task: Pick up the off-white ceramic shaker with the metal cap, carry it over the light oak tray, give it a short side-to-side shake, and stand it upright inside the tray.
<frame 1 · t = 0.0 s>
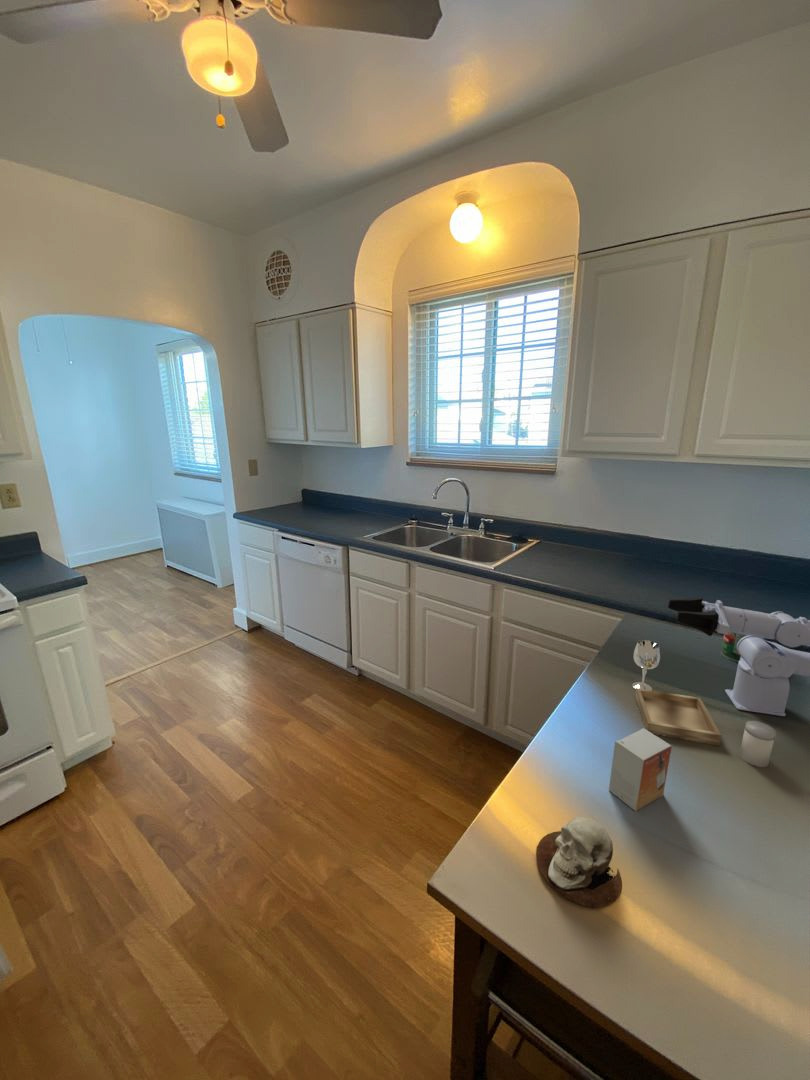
hand: (673, 609, 106), 22 cm above the counter, tool horizontal, fingers open, 7 cm apart
canned tomato: (737, 656, 127), on the counter
shaker: (753, 758, 88), on the counter
tray: (673, 719, 100), on the counter
wineglass: (642, 688, 112), on the counter
skull: (577, 869, 67), on the counter
small box: (635, 793, 80), on the counter
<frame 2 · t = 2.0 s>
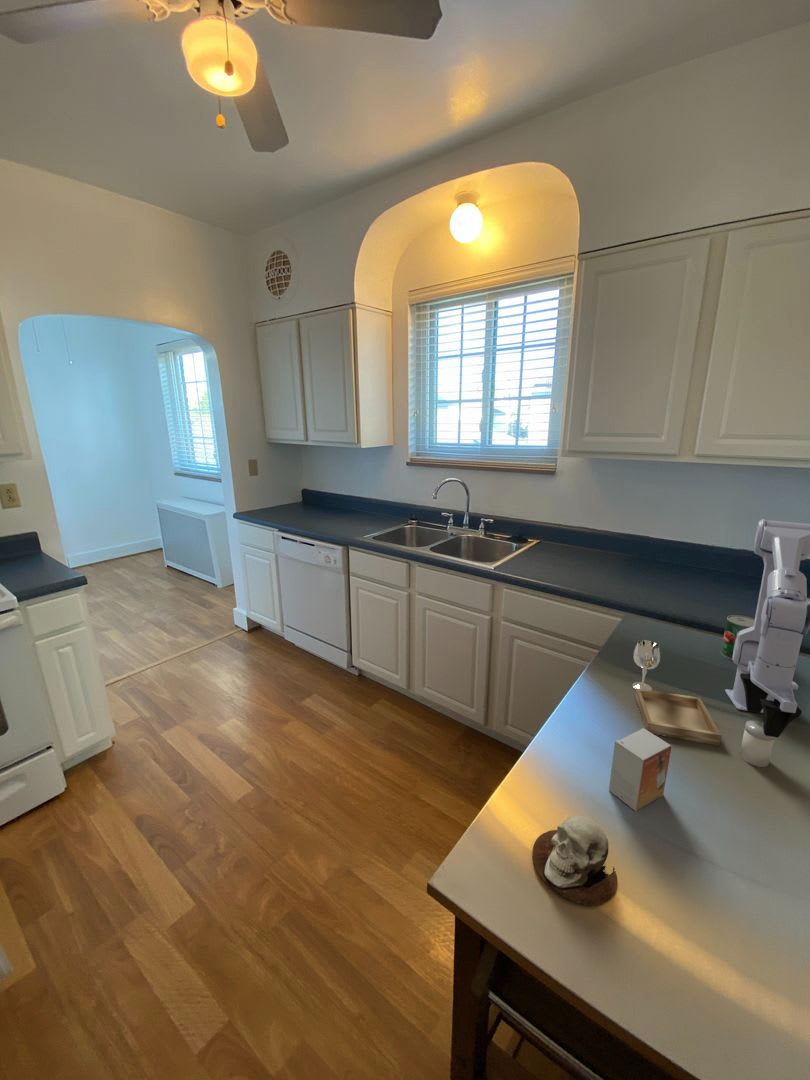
hand: (761, 722, 86), 8 cm above the counter, tool pointing down, fingers open, 7 cm apart
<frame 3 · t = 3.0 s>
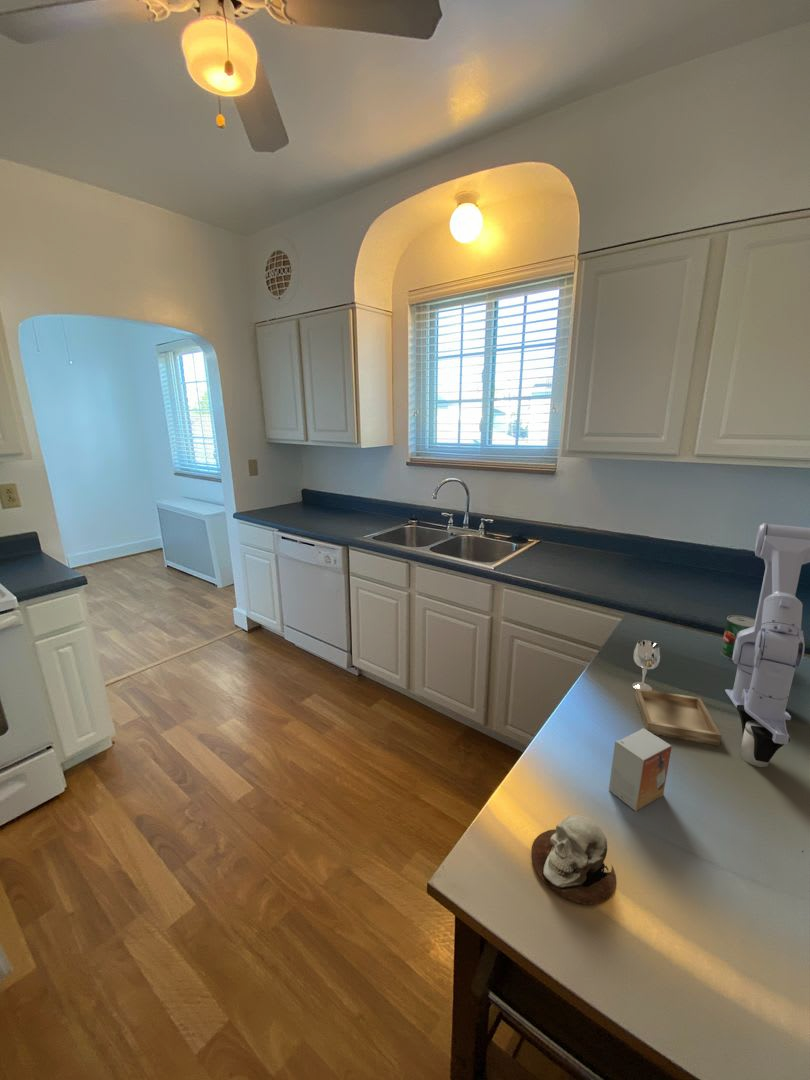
hand: (755, 751, 88), 2 cm above the counter, tool pointing down, fingers closed on shaker, 5 cm apart
shaker: (753, 758, 88), on the counter, touching gripper
everything else where it was.
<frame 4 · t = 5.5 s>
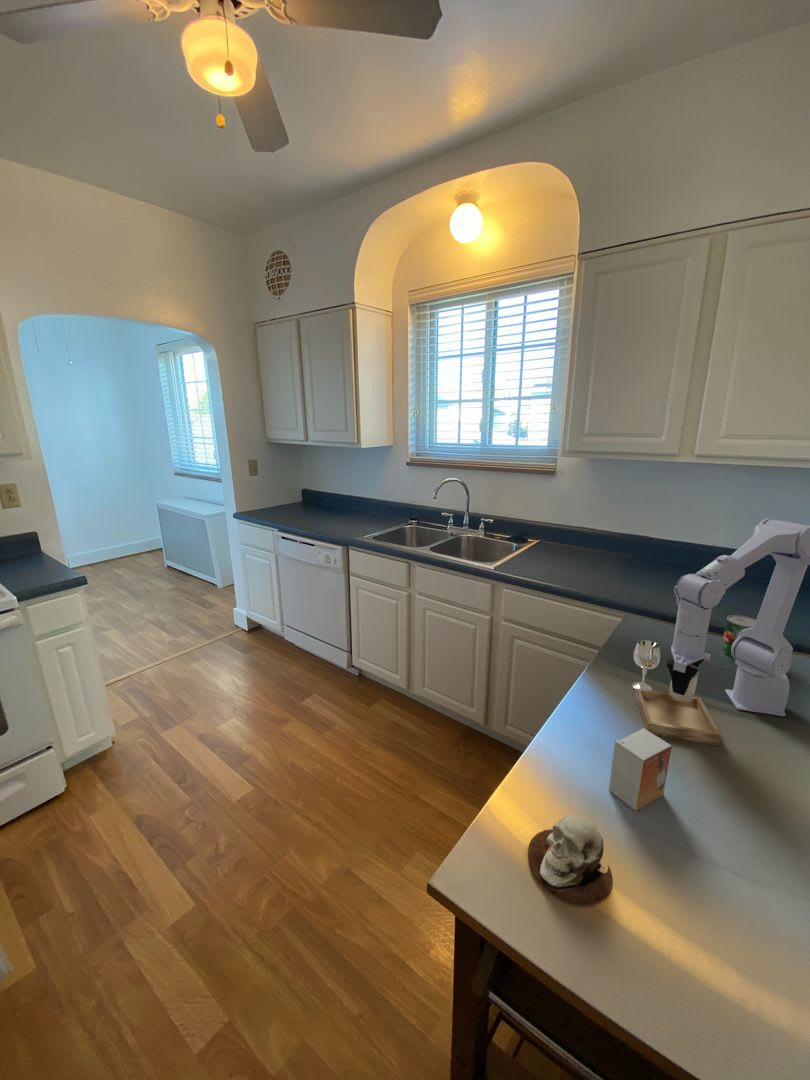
hand: (681, 687, 97), 9 cm above the counter, tool pointing down, fingers closed on shaker, 5 cm apart
shaker: (680, 695, 97), point 7 cm above the counter, touching gripper
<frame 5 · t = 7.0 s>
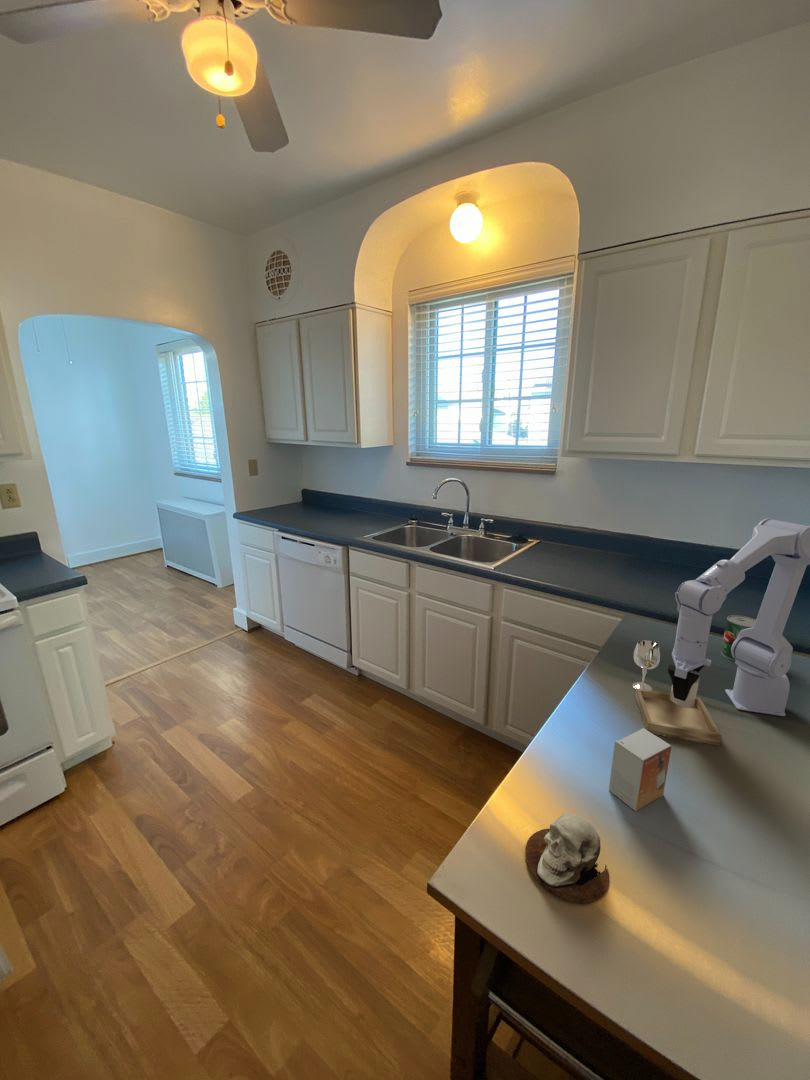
hand: (682, 693, 97), 7 cm above the counter, tool pointing down, fingers closed on shaker, 5 cm apart
shaker: (681, 700, 97), point 6 cm above the counter, touching gripper
when the fingers open (4 cm above the counter, at t = 8.2 s): shaker drops 1 cm, resting on tray.
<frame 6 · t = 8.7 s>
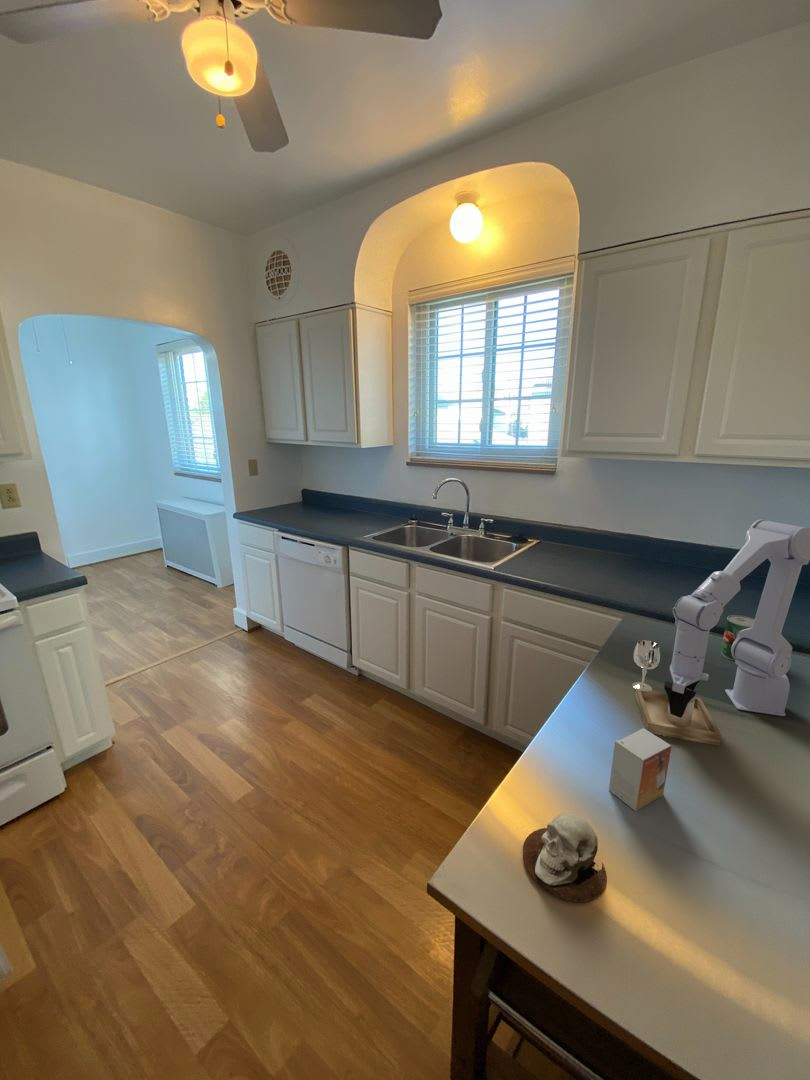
hand: (680, 707, 98), 4 cm above the counter, tool pointing down, fingers open, 7 cm apart
shaker: (678, 719, 98), point 1 cm above the counter, touching tray
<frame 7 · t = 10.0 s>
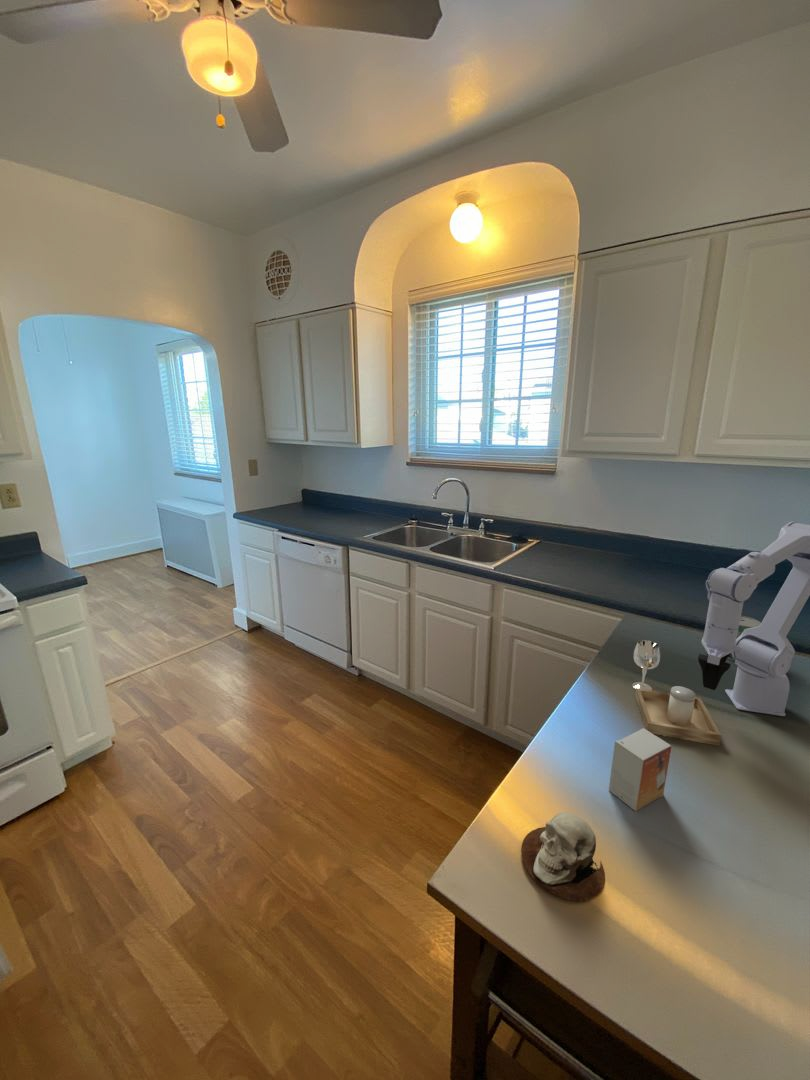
hand: (711, 680, 98), 9 cm above the counter, tool pointing down, fingers open, 7 cm apart
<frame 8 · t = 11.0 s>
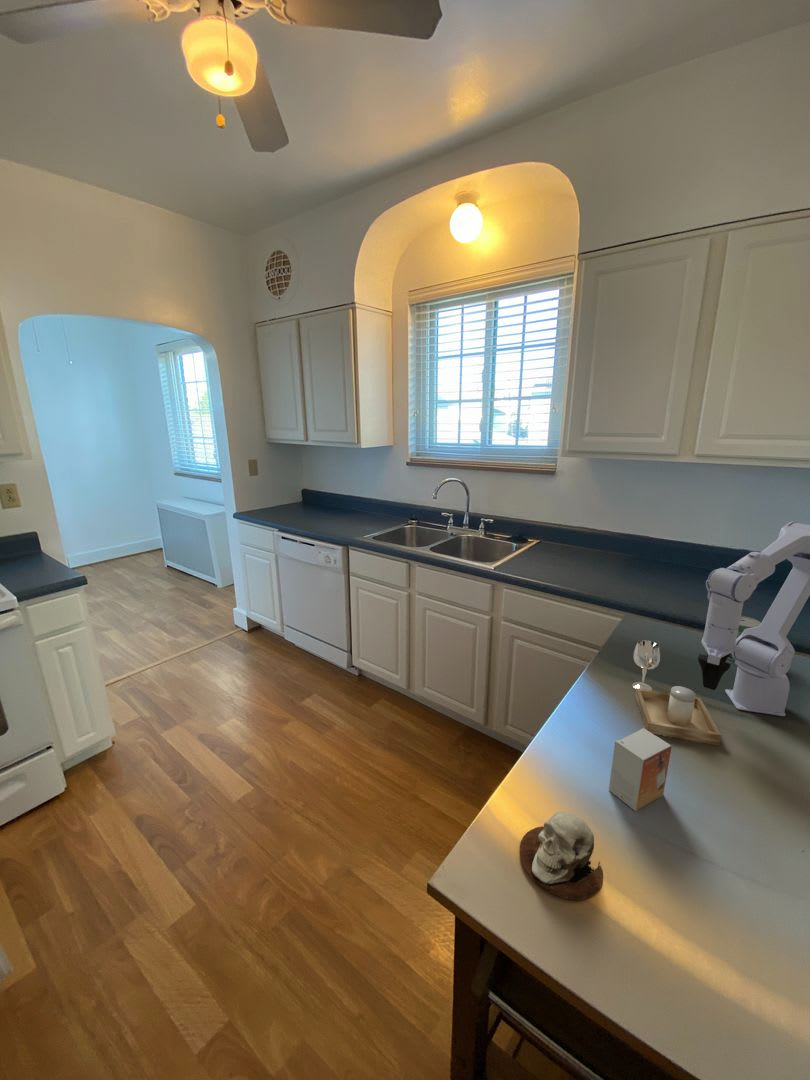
hand: (711, 680, 98), 9 cm above the counter, tool pointing down, fingers open, 7 cm apart
at the end: shaker inside the target area on the tray (1.3 cm from its centre), point 0.8 cm above the tray's base; shaker tilted 0°; the gripper is holding nothing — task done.
